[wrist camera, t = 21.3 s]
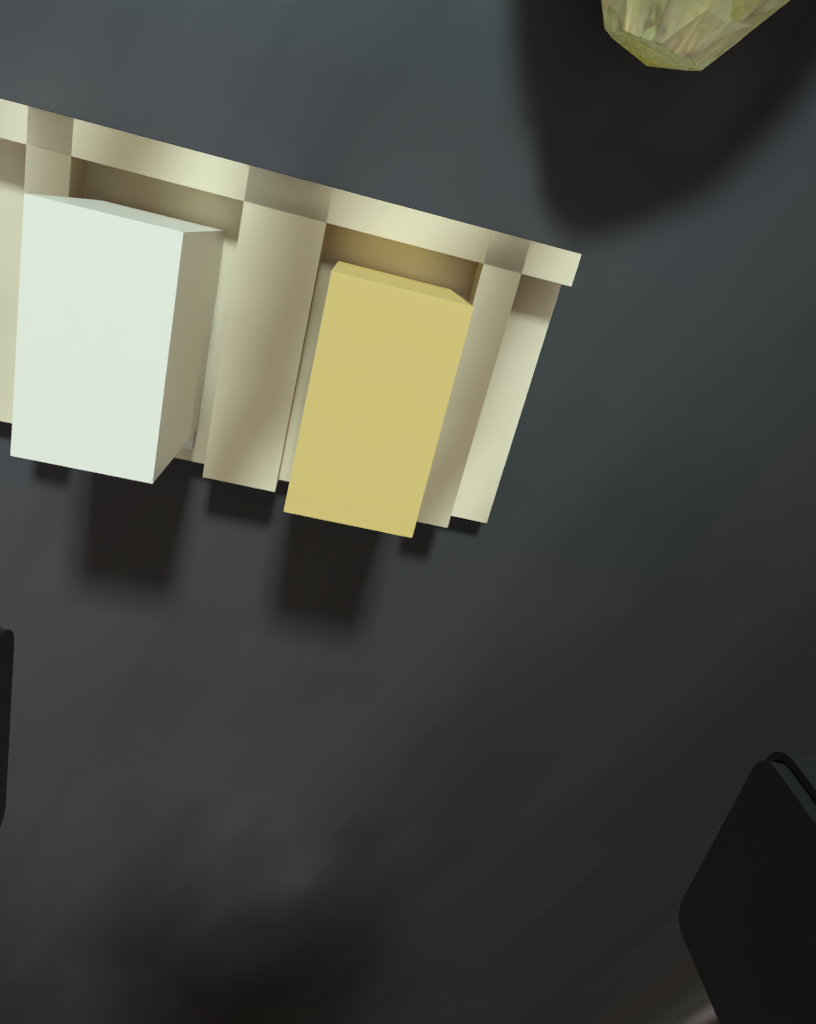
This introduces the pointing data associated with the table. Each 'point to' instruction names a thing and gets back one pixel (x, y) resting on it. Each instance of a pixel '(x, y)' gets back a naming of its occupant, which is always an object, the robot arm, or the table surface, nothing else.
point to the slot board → (296, 295)
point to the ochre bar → (376, 399)
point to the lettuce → (683, 28)
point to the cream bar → (110, 335)
